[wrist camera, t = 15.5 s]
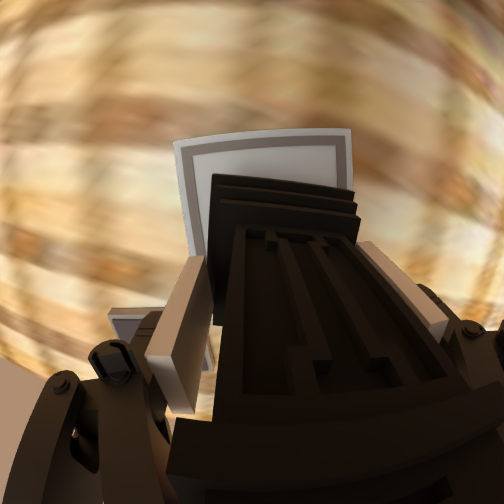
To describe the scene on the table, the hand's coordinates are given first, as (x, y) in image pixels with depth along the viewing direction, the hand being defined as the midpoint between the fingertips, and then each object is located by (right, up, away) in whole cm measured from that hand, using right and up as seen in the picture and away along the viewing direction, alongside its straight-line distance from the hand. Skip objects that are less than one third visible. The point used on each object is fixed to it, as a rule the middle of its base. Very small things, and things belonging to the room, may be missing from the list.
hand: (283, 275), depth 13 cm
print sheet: (0, +4, +9) cm, 10 cm away
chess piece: (0, +2, +4) cm, 4 cm away
